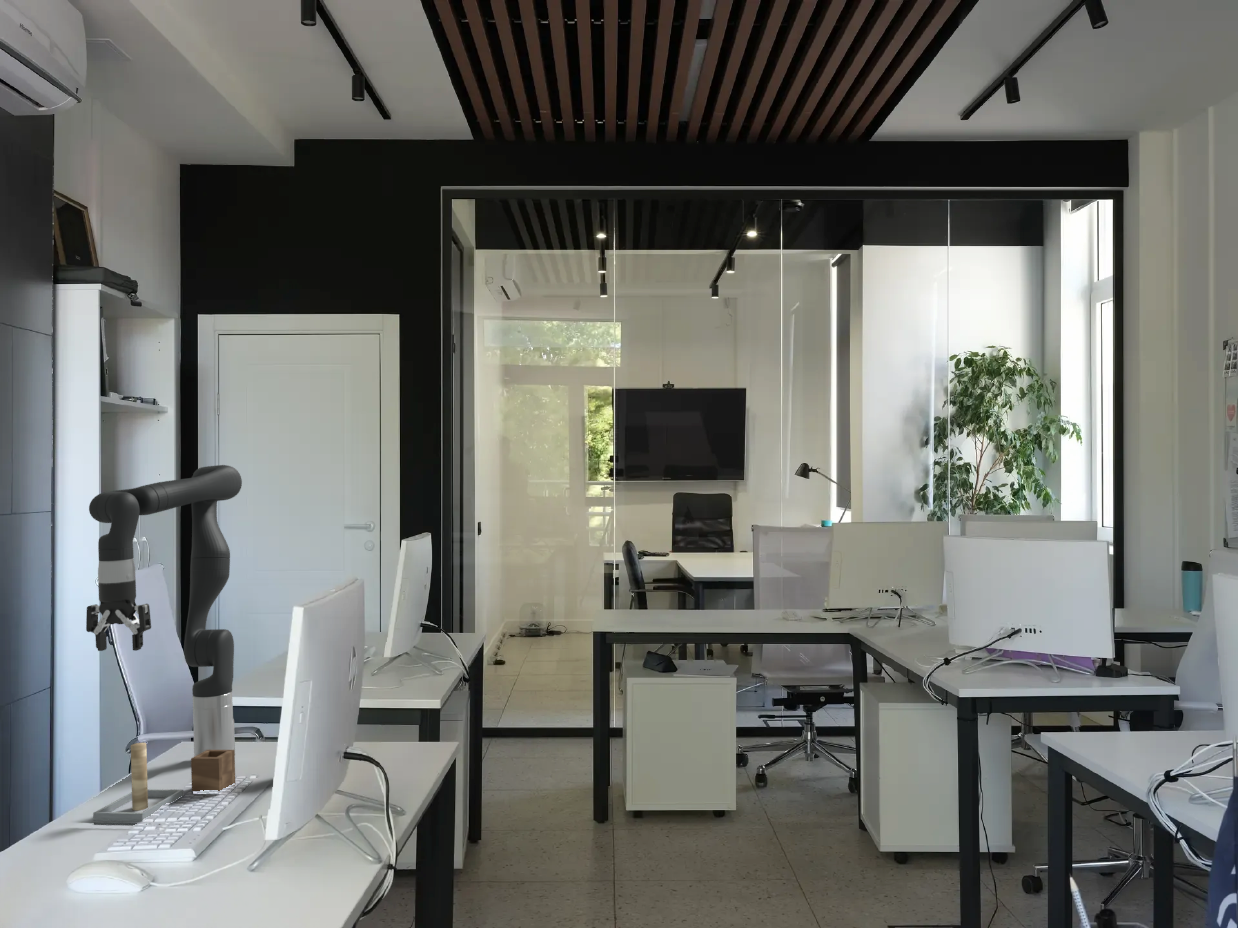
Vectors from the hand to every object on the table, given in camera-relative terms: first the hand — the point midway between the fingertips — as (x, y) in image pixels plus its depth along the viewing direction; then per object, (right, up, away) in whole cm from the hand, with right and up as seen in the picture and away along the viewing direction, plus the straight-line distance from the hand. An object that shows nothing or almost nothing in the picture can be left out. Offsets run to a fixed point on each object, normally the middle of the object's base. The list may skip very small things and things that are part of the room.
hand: (119, 650), depth 211 cm
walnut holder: (+23, -32, -2) cm, 39 cm away
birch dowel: (+11, -32, -13) cm, 36 cm away
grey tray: (+11, -32, -13) cm, 37 cm away
